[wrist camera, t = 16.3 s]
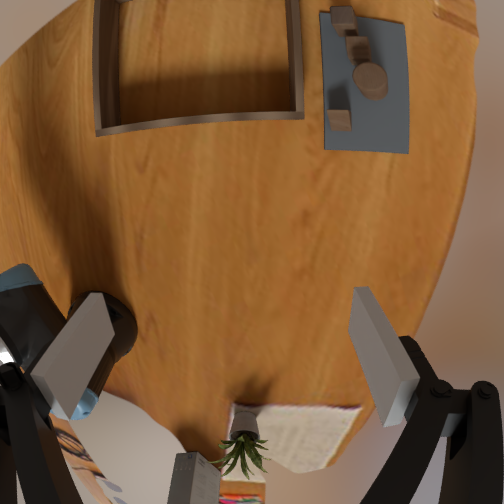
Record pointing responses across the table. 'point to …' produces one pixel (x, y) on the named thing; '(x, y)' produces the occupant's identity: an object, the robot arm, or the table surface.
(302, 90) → the crate
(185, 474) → the hard drive box
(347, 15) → the wooden block set
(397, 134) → the mat
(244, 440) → the house plant
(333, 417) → the table surface
